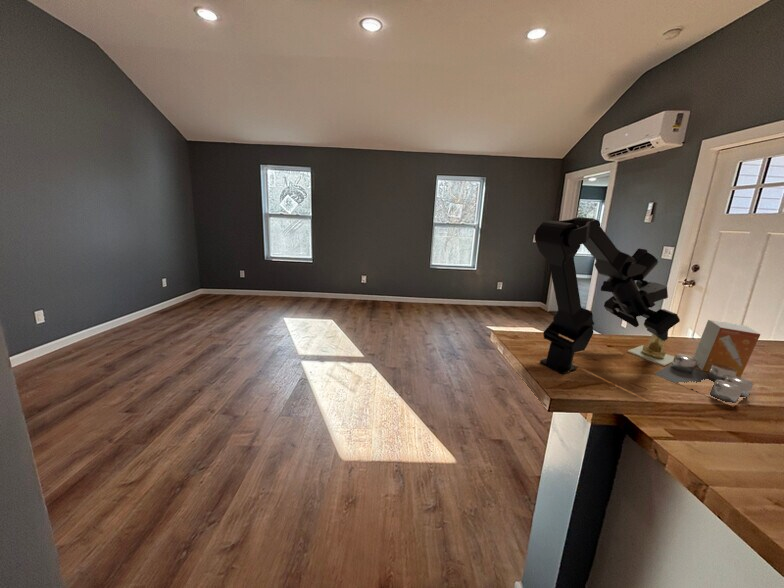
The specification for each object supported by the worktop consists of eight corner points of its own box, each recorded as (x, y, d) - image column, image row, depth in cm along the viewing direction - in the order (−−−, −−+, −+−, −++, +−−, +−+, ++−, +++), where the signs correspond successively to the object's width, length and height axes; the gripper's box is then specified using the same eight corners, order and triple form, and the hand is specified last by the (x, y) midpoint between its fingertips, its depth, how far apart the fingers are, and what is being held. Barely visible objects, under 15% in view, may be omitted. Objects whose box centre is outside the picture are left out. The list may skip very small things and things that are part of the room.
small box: (701, 372, 85) (720, 327, 82) (690, 361, 91) (707, 319, 87) (741, 380, 83) (761, 333, 79) (727, 368, 88) (745, 325, 85)
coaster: (663, 367, 86) (664, 364, 86) (627, 353, 94) (627, 350, 93) (677, 361, 91) (678, 358, 91) (641, 347, 98) (642, 345, 98)
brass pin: (662, 360, 88) (678, 316, 85) (640, 353, 92) (654, 311, 88) (665, 355, 92) (680, 312, 88) (643, 348, 96) (656, 307, 92)
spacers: (735, 407, 70) (741, 394, 69) (654, 373, 82) (658, 361, 81) (755, 391, 77) (761, 378, 76) (678, 362, 89) (682, 351, 88)
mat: (733, 409, 70) (733, 407, 70) (652, 375, 82) (653, 373, 82) (753, 392, 77) (754, 390, 77) (676, 363, 89) (677, 361, 89)
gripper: (686, 282, 75) (710, 327, 80) (624, 265, 93) (647, 303, 97) (645, 312, 77) (671, 355, 81) (592, 290, 94) (616, 326, 99)
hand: (650, 332), depth 89 cm, fingers open, 9 cm apart
